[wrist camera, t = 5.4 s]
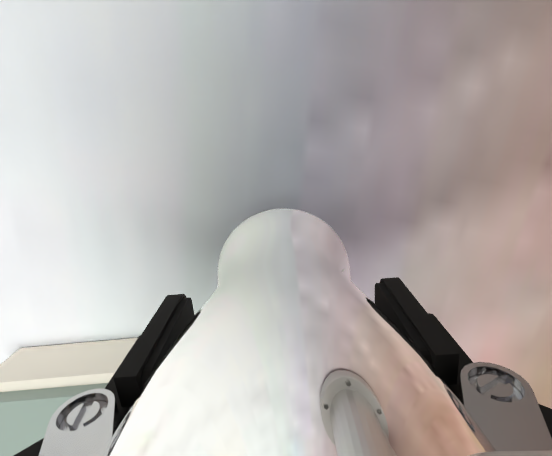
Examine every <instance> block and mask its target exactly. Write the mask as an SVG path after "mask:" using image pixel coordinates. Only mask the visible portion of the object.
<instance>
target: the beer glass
mask: <svg viewBox="0 0 552 456" xmlns="http://www.w3.org/2000/svg"><path fill="white" fill-rule="evenodd" d="M493 451H496V449H495V448H494V447H493V445H492V444H491V443H490V441H489V440H488V438H487V437H486V436H485V434H484V433H483V431H482V430H481V429H480V427H479V426H478V424H477V423H476V422H475V420H474V419H473V418H472V416H471V415H470V413H469V412H468V411H467V409H466V408H465V406H464V405H463V404H462V402H461V401H460V399H459V398H458V397H457V395H456V394H455V392H454V391H453V390H452V388H451V387H450V386H449V384H448V383H447V382H446V380H445V379H444V378H443V377H442V376H441V375H440V374H439V372H438V371H437V370H436V369H435V368H434V367H433V366H432V364H431V363H430V362H429V361H428V360H427V359H426V358H425V356H424V355H423V354H422V353H421V352H420V351H419V350H418V348H417V347H416V346H415V345H414V344H413V343H412V342H411V340H410V339H409V338H408V337H407V336H406V335H405V334H404V333H403V332H402V331H401V330H400V329H399V328H398V327H397V326H396V325H395V324H394V323H393V322H392V321H391V320H390V319H389V318H388V317H387V316H386V315H385V314H384V313H383V312H382V311H381V310H380V309H379V308H378V307H377V306H376V305H375V304H374V303H373V302H372V301H371V300H370V299H369V298H368V297H367V296H366V295H365V294H364V293H363V292H362V291H361V290H360V289H359V288H358V287H357V286H356V285H355V284H354V283H353V282H352V281H351V277H350V266H349V260H348V256H347V252H346V250H345V247H344V245H343V243H342V241H341V239H340V237H339V236H338V235H337V233H336V232H335V231H334V230H333V229H332V227H330V226H329V225H328V224H327V223H326V222H324V221H323V220H321V219H320V218H318V217H316V216H314V215H312V214H310V213H307V212H304V211H301V210H296V209H289V208H279V209H271V210H267V211H263V212H260V213H258V214H255V215H253V216H251V217H249V218H248V219H246V220H245V221H243V222H242V223H241V224H239V225H238V226H237V227H236V228H235V229H234V230H233V231H232V233H231V234H230V235H229V237H228V238H227V240H226V241H225V243H224V245H223V248H222V250H221V253H220V257H219V262H218V287H217V289H216V290H215V292H214V293H213V294H212V295H211V297H210V298H209V299H208V300H207V301H206V303H205V304H204V305H203V306H202V307H201V309H200V310H199V311H198V312H197V313H196V315H195V316H194V317H193V318H192V320H191V321H190V322H189V323H188V325H187V326H186V327H185V328H184V330H183V331H182V332H181V333H180V335H179V336H178V337H177V338H176V339H175V341H174V342H173V343H172V345H171V346H170V347H169V349H168V350H167V352H166V353H165V354H164V356H163V357H162V359H161V360H160V362H159V363H158V364H157V366H156V367H155V369H154V370H153V372H152V373H151V374H150V376H149V377H148V379H147V380H146V382H145V383H144V384H143V386H142V387H141V389H140V390H139V392H138V393H137V395H136V396H135V398H134V399H133V401H132V403H131V405H130V407H129V408H128V410H127V412H126V414H125V415H124V417H123V419H122V421H121V422H120V424H119V426H118V428H117V429H116V431H115V433H114V435H113V437H112V438H111V440H110V442H109V444H108V445H107V447H106V449H105V451H104V452H103V454H102V456H469V455H472V454H475V453H480V452H493Z"/></svg>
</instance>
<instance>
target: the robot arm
mask: <svg viewBox="0 0 552 456" xmlns="http://www.w3.org/2000/svg"><path fill="white" fill-rule="evenodd" d="M375 305H376V306H377V307H378V308H379V309H380V310H381V311H382V312H383V313H384V314H385V315H386V316H387V317H388V318H389V319H390V320H391V321H392V322H393V323H394V324H395V325H396V326H397V327H398V328H399V329H400V330H401V331H402V332H403V333H404V334H405V335H406V336H407V337H408V338H409V339H410V340H411V342H412V343H413V344H414V345H415V346H416V347H417V348H418V350H419V351H420V352H421V353H422V354H423V355H424V356H425V358H426V359H427V360H428V361H429V362H430V363H431V364H432V366H433V367H434V368H435V369H436V370H437V371H438V372H439V374H440V375H441V376H442V377H443V378H444V379H445V380H446V382H447V383H448V384H449V386H450V387H451V388H452V390H453V391H454V392H455V394H456V395H457V397H458V398H459V399H460V401H461V402H462V404H463V405H464V406H465V408H466V409H467V411H468V412H469V413H470V415H471V416H472V418H473V419H474V420H475V422H476V423H477V424H478V426H479V427H480V429H481V430H482V431H483V433H484V434H485V436H486V437H487V438H488V440H489V441H490V443H491V444H492V445H493V447H494V448H495V449H496V451H493V452H480V453H475V454H472V455H469V456H552V409H550V408H548V407H545V406H543V405H540V404H538V402H537V400H536V397H535V395H534V392H533V390H532V388H531V387H530V385H529V383H528V382H527V381H526V380H525V379H523V378H522V377H521V376H520V375H518V374H517V373H515V372H514V371H512V370H510V369H508V368H505V367H503V366H500V365H496V364H492V363H485V362H476V363H473V362H472V361H471V359H470V358H469V357H468V356H467V355H466V353H465V352H464V351H463V350H462V348H461V347H460V346H459V345H458V344H457V342H456V341H455V340H454V339H453V338H452V336H451V335H450V334H449V333H448V332H447V330H446V329H445V328H444V327H443V326H442V324H441V323H440V322H439V321H438V319H437V318H436V317H435V316H434V315H433V314H428V313H427V312H426V311H425V310H424V308H423V307H422V306H421V305H420V303H419V302H418V301H417V300H416V298H415V297H414V296H413V295H412V293H411V292H410V291H409V290H408V288H407V287H406V286H405V285H404V283H403V282H402V281H401V280H400V279H399V278H385V279H381V280H380V283H376V284H375ZM193 317H194V310H193V305H192V300H191V298H186V296H185V294H178V295H167V296H166V298H165V299H164V301H163V302H162V304H161V306H160V307H159V309H158V310H157V312H156V313H155V315H154V316H153V318H152V319H151V321H150V322H149V324H148V325H147V327H146V329H145V330H144V332H143V333H142V335H140V336H139V337H138V339H137V340H136V342H135V343H134V345H133V346H132V348H131V349H130V351H129V352H128V354H127V355H126V357H125V358H124V360H123V361H122V363H121V364H120V366H119V367H118V369H117V371H116V372H115V374H114V375H113V377H112V378H111V380H110V381H109V383H108V384H107V386H106V387H105V389H92V390H88V391H85V392H82V393H80V394H78V395H76V396H74V397H72V398H71V399H69V400H67V401H66V402H65V403H64V404H62V405H61V406H60V407H59V408H58V409H57V410H56V411H55V413H54V414H53V415H52V417H51V419H50V421H49V423H48V426H47V430H46V433H45V436H44V438H43V439H41V440H39V441H38V442H36V443H34V444H32V445H31V446H29V447H27V448H26V449H24V450H22V451H20V452H19V453H17V454H15V455H14V456H102V454H103V452H104V451H105V449H106V447H107V445H108V444H109V442H110V440H111V438H112V437H113V435H114V433H115V431H116V429H117V428H118V426H119V424H120V422H121V421H122V419H123V417H124V415H125V414H126V412H127V410H128V408H129V407H130V405H131V403H132V401H133V399H134V398H135V396H136V395H137V393H138V392H139V390H140V389H141V387H142V386H143V384H144V383H145V382H146V380H147V379H148V377H149V376H150V374H151V373H152V372H153V370H154V369H155V367H156V366H157V364H158V363H159V362H160V360H161V359H162V357H163V356H164V354H165V353H166V352H167V350H168V349H169V347H170V346H171V345H172V343H173V342H174V341H175V339H176V338H177V337H178V336H179V335H180V333H181V332H182V331H183V330H184V328H185V327H186V326H187V325H188V323H189V322H190V321H191V320H192V318H193Z"/></svg>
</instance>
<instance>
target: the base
mask: <svg viewBox="0 0 552 456" xmlns="http://www.w3.org/2000/svg"><path fill="white" fill-rule="evenodd" d="M137 339H138V338H128V339H117V340H106V341H94V342H83V343H71V344H60V345H48V346H37V347H26V348H20V349H18V350H17V351H16V352H15V353H14V354H12V355H11V356H10V357H9V358H8V359H6V360H5V361H4V362H3V363H1V364H0V456H14V455H15V454H17V453H19V452H20V451H22V450H24V449H26V448H27V447H29V446H31V445H32V444H34V443H36V442H38V441H39V440H41V439H43V438H44V436H45V433H46V430H47V426H48V423H49V421H50V419H51V417H52V415H53V414H54V413H55V411H56V410H57V409H58V408H59V407H60V406H61V405H62V404H64V403H65V402H66V401H67V400H69V399H71V398H72V397H74V396H76V395H78V394H80V393H82V392H85V391H88V390H92V389H105V387H106V386H107V384H108V383H109V381H110V380H111V378H112V377H113V375H114V374H115V372H116V371H117V369H118V367H119V366H120V364H121V363H122V361H123V360H124V358H125V357H126V355H127V354H128V352H129V351H130V349H131V348H132V346H133V345H134V343H135V342H136V340H137Z"/></svg>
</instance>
